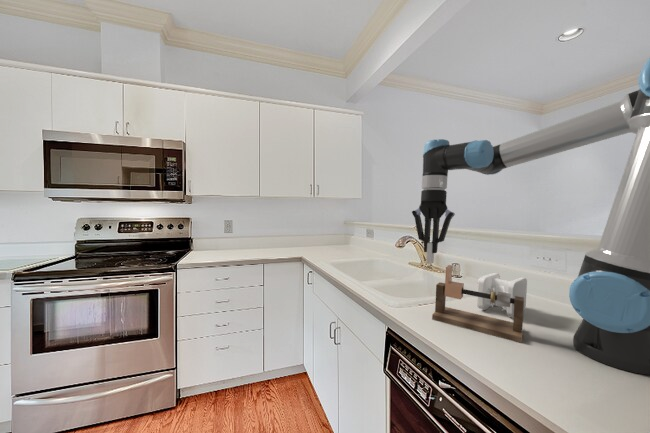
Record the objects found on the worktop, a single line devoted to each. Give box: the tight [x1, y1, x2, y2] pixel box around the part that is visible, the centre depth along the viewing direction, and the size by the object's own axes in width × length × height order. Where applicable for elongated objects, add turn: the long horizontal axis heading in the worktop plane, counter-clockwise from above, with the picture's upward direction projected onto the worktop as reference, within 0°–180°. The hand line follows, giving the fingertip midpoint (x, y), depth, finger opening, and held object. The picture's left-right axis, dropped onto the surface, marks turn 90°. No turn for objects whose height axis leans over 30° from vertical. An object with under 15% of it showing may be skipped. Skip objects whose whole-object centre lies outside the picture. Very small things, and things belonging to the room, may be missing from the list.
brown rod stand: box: [431, 281, 524, 344], centre depth 79 cm, size 22×10×10 cm, turn 53°
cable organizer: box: [476, 272, 528, 319], centre depth 91 cm, size 15×11×12 cm
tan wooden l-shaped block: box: [444, 264, 465, 300], centre depth 83 cm, size 4×4×9 cm
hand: (429, 262), depth 87 cm, fingers closed
